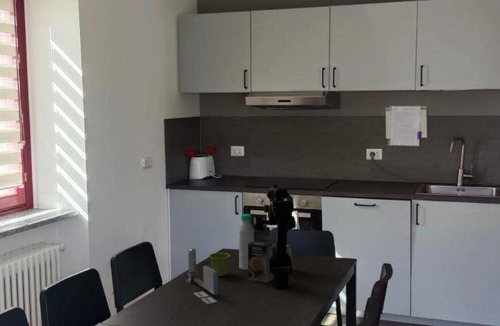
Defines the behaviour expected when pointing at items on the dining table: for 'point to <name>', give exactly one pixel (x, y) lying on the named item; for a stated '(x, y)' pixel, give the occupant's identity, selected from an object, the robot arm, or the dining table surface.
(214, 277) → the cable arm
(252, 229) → the water bottle
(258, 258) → the coffee box
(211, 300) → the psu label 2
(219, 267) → the plant pot
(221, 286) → the dining table surface
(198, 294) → the psu label
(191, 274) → the post
